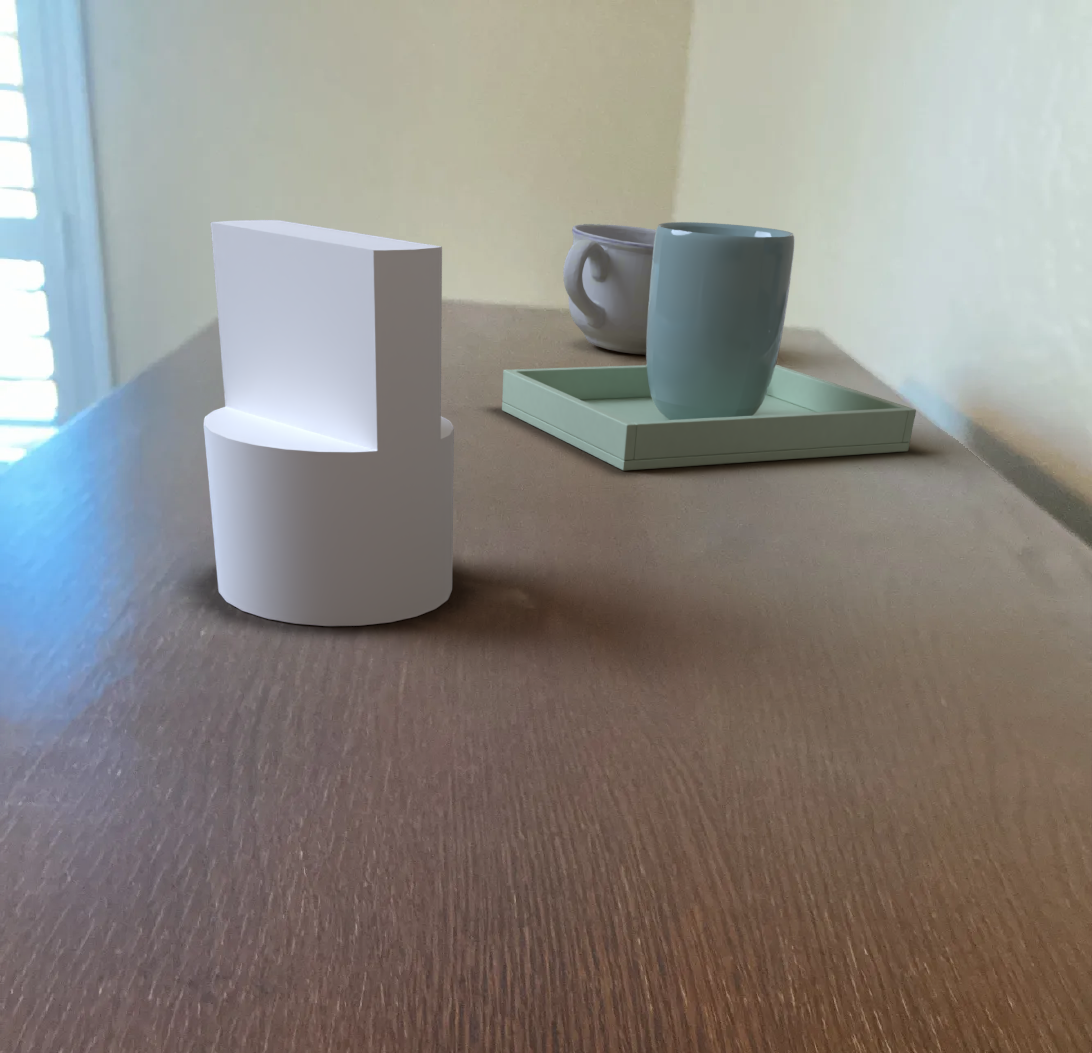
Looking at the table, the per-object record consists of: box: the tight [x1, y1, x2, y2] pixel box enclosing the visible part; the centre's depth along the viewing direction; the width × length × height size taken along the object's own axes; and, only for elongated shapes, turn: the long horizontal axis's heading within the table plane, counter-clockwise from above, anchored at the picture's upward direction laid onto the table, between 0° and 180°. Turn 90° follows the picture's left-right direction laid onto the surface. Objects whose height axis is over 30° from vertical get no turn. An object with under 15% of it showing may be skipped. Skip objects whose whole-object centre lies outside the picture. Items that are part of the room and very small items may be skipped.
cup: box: [645, 221, 796, 420], centre depth 75 cm, size 8×8×10 cm
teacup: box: [562, 223, 656, 356], centre depth 98 cm, size 14×11×8 cm
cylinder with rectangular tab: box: [203, 219, 455, 627], centre depth 47 cm, size 9×9×12 cm
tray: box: [501, 364, 917, 472], centre depth 77 cm, size 19×15×2 cm
